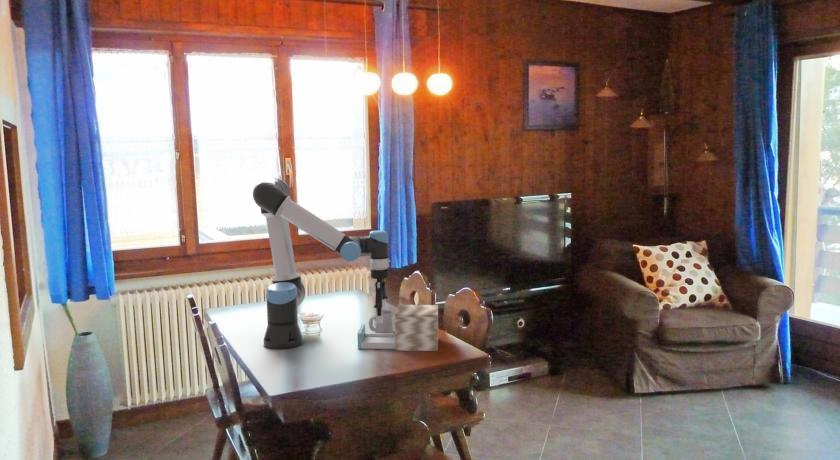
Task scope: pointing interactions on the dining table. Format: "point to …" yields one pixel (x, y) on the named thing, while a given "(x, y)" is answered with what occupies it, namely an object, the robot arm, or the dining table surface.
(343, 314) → the dining table surface
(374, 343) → the tray
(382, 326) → the cup
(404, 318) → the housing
